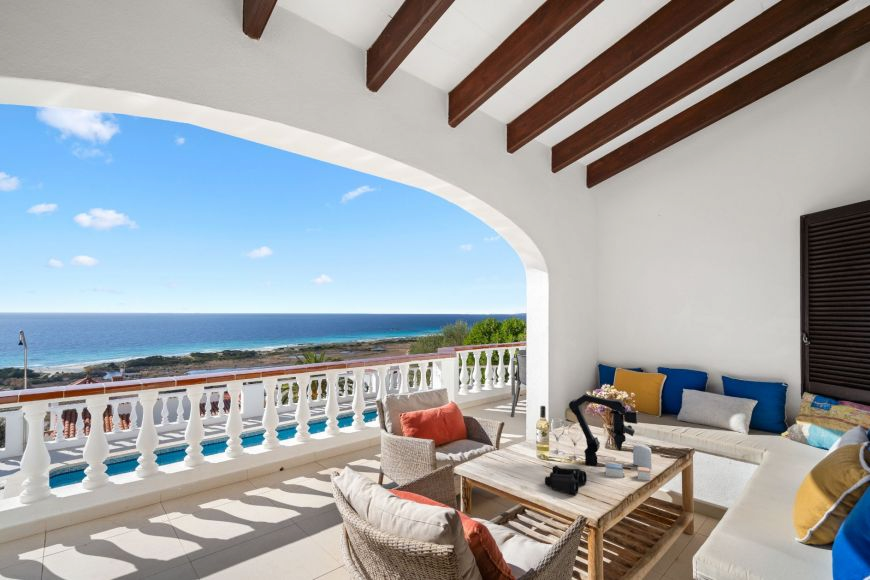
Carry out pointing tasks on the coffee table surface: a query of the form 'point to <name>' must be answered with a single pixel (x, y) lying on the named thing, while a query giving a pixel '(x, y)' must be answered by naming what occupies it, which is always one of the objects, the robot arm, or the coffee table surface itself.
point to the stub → (643, 473)
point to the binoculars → (566, 479)
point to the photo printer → (642, 456)
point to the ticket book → (614, 470)
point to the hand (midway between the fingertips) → (619, 448)
